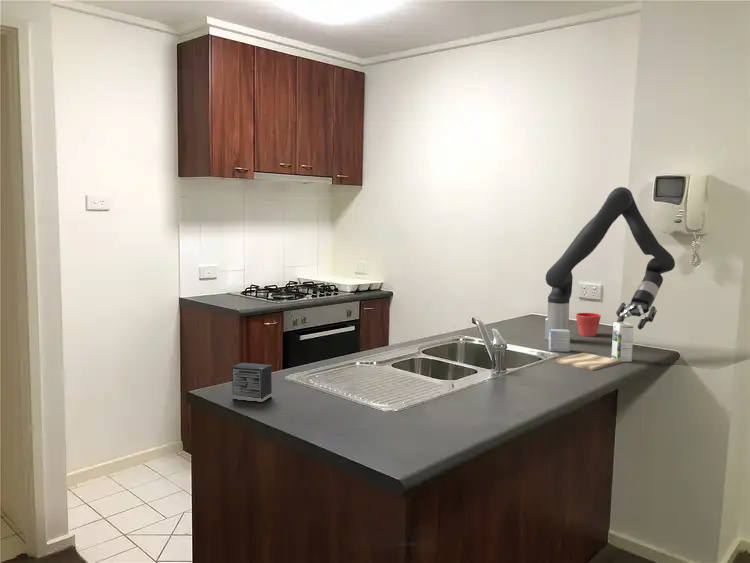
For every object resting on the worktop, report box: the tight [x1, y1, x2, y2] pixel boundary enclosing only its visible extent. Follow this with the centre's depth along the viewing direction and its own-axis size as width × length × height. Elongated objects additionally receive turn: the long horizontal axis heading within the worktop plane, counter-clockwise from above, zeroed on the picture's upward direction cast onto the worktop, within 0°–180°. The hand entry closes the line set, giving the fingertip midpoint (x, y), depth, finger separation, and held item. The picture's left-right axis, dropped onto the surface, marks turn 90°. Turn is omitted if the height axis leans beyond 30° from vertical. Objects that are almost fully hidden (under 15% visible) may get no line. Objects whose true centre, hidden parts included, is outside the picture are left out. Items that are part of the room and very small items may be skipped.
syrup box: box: [610, 321, 635, 363], centre depth 238 cm, size 6×6×14 cm
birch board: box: [554, 352, 622, 371], centre depth 235 cm, size 16×19×1 cm
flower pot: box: [575, 312, 601, 337], centre depth 288 cm, size 11×11×10 cm
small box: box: [231, 362, 273, 399], centre depth 188 cm, size 11×6×10 cm, turn 71°
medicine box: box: [548, 329, 571, 353], centre depth 255 cm, size 8×4×9 cm, turn 84°
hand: (628, 326), depth 240 cm, fingers open, 8 cm apart
